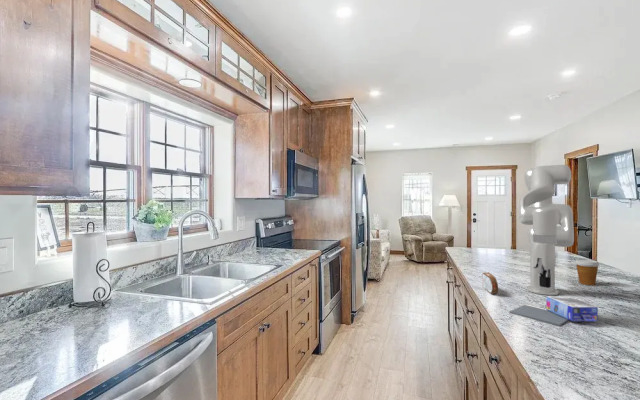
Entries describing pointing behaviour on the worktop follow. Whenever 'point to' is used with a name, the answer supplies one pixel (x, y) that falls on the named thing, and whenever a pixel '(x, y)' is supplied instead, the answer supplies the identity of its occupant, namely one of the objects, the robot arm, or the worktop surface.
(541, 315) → the mat
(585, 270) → the disposable coffee cup
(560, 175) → the robot arm
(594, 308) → the ink cartridge box
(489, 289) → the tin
